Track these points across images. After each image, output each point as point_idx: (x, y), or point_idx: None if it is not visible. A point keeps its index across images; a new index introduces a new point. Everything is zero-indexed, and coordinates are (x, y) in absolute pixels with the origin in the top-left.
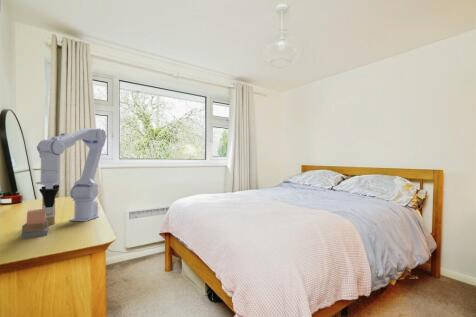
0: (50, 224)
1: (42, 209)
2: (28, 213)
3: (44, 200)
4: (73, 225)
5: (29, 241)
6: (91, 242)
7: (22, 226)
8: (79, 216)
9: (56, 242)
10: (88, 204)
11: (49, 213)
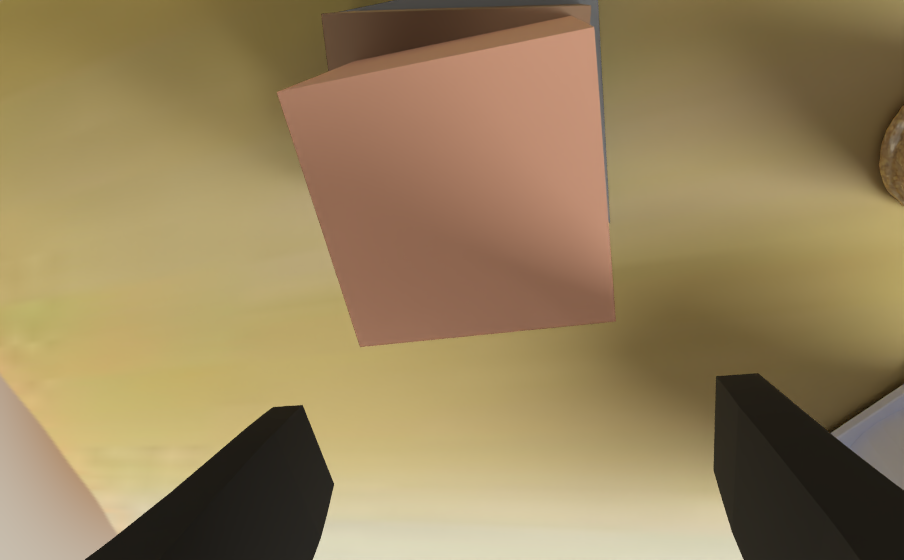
0: (882, 176)
1: (549, 281)
2: (293, 111)
3: (139, 526)
4: (681, 389)
5: (233, 124)
6: (139, 492)
7: (325, 15)
8: (881, 471)
9: (169, 325)
10: None
11: None
